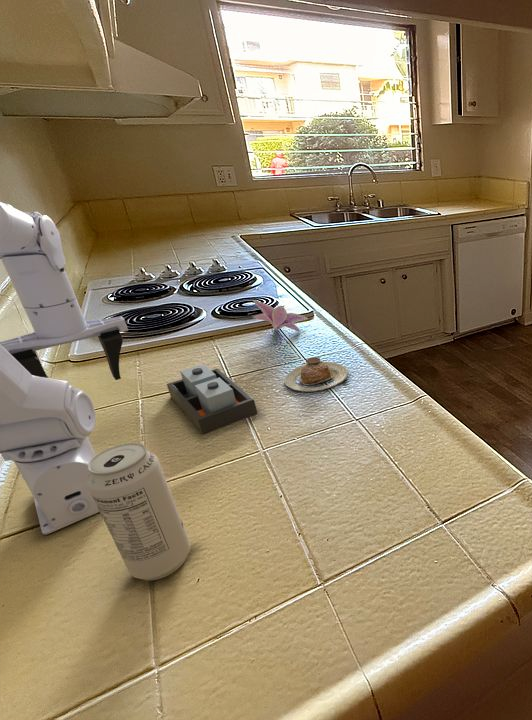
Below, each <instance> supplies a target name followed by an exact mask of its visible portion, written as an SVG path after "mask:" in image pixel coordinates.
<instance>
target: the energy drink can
mask: <svg viewBox="0 0 532 720" xmlns="http://www.w3.org/2000/svg"><path fill="white" fill-rule="evenodd" d="M88 470H89V474H88V478H87V483H86V484H87V486H88V489H89V491H90V493H91V495H92V497H93V499H94V501H95V503H96V505H97V507H98V509H99V511H100V512H99V513H100V515H101V517H102V519H103V521H104V524H105V526H106V527H107V530H108V531H109V534H110V536H111V538H112V540H113V542H114V544H115V546H116V549H117V550H118V553H119V554H120V556H121V559H122V560H123V562H124V565H125V566H126V568H127V571H128V573H129V574H130V576H131V577H133V578H135V579H140V580H143V581H148V582H149V581H156V580H160V579H163V578H165V577H168V576H170V575H171V574H173V573H175V572H176V571H177V570H178V569H180V568H181V567H182V566H183V564H184V563H185V562H186V560H187V557H188V555H189V554H190V552H191V551H190V550H191V541H190V538H189V536H188V533H187V531H186V528H185V526H184V525H185V524H184V523H183V519H182V518H181V515H180V512H179V509H178V507H177V504H176V502H175V499H174V497H173V494H172V491H171V489H170V486H169V484H168V481H167V478H166V476H165V473H164V471H163V468H162V465H161V463H160V460H159V458H158V457H157V455H155V454H154V453H152V452H151V451H149V450H147V447H146V446H145V445H144V444H142V443H140V442H139V443H138V442H127V443H122V444H118V445H115V446H111V447H109V448H107V449H105V450H103V451H101V452H99V453H97V454H96V456H95V457H94V458H93V459H91V461H90V462H89V464H88Z"/></svg>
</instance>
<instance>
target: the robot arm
mask: <svg viewBox="0 0 532 720" xmlns="http://www.w3.org/2000/svg"><path fill="white" fill-rule="evenodd" d="M63 251H64V250H63V247H62V239H61V235H60V231H59V230H58V227H57V226H56V224H55V222H54V221H53V220H52V218H51V217H49V216H48V215H45V214H42V213H40V212H39V211H22V210H20V209H18V208H15V207H14V206H12V205H11V204H9V203H6V202H5V203H4V202H3V201H0V260H1V262H2V264H3V266H4V268H5V270H6V273H7V275H8V277H9V280H10V281H11V283H12V286H13V288H14V291H15V292H16V295H17V296H18V298H19V299H18V300H19V301H20V303H21V305H22V307H23V309H24V312H25V314H26V316H27V318H28V320H29V323H30V324H31V327H32V329H33V332H31V333H26V334H24V335H20V336H17V337H13V338H10V339H6V340H3V341H0V456H1V457H2V459H3V461H4V462H8V461H13V462H14V465H15V466H16V468H17V470H18V471H19V473H20V475H21V477H22V479H23V480H24V483H25V484H26V486H27V488H28V489H29V491H30V493H31V495H32V496H33V497H32V498H33V502H34V506H35V510H36V514H37V518H38V522H39V527H40V530H41V534H42V535H49V534H51V533H54V532H57V531H58V530H61V529H63V528H65V527H68V526H70V525H72V524H74V523H76V522H79V521H81V520H84V519H86V518H88V517H90V516H93V515H96V514H98V513H100V511H99V509H98V507H97V505H96V503H95V501H94V499H93V497H92V495H91V493H90V491H89V489H88V486H87V484H86V483H87V478H88V474H89V470H88V464H89V462H90V461H91V459H93V458H94V457H95V456H96V455H97V454H96V452H95V450H94V448H93V447H94V446H93V445H92V444H91V441H90V438H89V436H90V435H91V434H92V432H93V431H94V429H95V428H96V427H95V426H96V422H97V415H96V410H95V406H94V403H93V401H92V399H91V398H90V396H89V395H88V394H87V393H86V392H84V391H83V390H82V389H80V388H75V387H73V386H72V385H71V384H70V383H69V382H68V381H67V380H62V379H56V378H50V377H49V376H48V375H47V373H46V371H45V369H44V367H43V365H42V363H41V360H40V358H39V356H38V353H37V351H41V350H45V349H49V348H53V347H58V346H62V345H67V344H70V343H74V342H78V341H84V340H89V339H91V338H98V339H99V342H100V346H101V347H102V350H103V353H104V354H105V357H106V361H107V364H108V368H109V370H110V373H111V375H112V377H113V378H114V381H118V380H121V379H122V377H121V372H120V356H121V355H120V354H121V350H122V346H123V343H124V338H123V335H122V334H121V333H125V332H128V331H129V328H128V325H127V322H126V320H125V318H124V317H123V316H122V315H119V316H115V317H114V316H113V317H108V318H101V319H93V320H92V319H91V320H86V317H84V313H83V311H82V309H81V306H80V304H79V302H78V299H77V296H76V293H75V292H74V291H75V290H74V288H73V286H72V283H71V281H70V278H69V276H68V274H67V271H66V269H65V266H66V264H67V262H66V260H67V259H66V257H65V254H64V252H63Z"/></svg>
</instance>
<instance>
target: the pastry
mask: <svg viewBox="0 0 532 720" xmlns="http://www.w3.org/2000/svg"><path fill="white" fill-rule="evenodd" d="M348 375H349V370H348V368H347V367H346V366H344V365H343V364H341V363H338V362H334V361H323V360H321V358H319V357H317V356H316V357H315V356H314V357H309V358H307V359H306V360H305V364H302V365H299V366H297V367H295V368H294V369H292V370H291V371H289V372H288V373H287V374H286V376H285V377H284V380H283V382H284V384H285V386H286V387H287V388H289V389H291V390H293V391H296V392H304V393H313V392H318V391H319V392H320V391H321V392H322V391H324V390H327V389H330V388H333V387H335V386H338V385H339V384H340V385H341V384H342V383H343V382H345V380H346V379H347V377H348ZM298 377H299V378H298ZM297 379H298V380H299V382H300V383H301V384H302V385H304V386H314V385H317V384H321V383H324V382H328V381H330V380H331V379H333V380H334V381H333V382H331V383H329V384H325V385H324V386H319V387H303V386H300V385H299V384H297V381H296V380H297Z"/></svg>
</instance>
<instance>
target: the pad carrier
mask: <svg viewBox="0 0 532 720" xmlns="http://www.w3.org/2000/svg"><path fill="white" fill-rule="evenodd" d="M210 370H211V371H212V372H213V373H214V374H215V375H216V377H217V378H221V379H222V380H223V381H224V382H225V383H226V384H227V385H228V386H229V387H231V388H232V389H233V393H234V396H235V400H236V404H234V405H231V406H228V407H226V408H223V409H220V410H218V411H215V412H212V413H209V414H207V415H206V414H205V413H204V411H203V410H202V408H201V404H200V401H199V398H198V395H194V396H191V397H189V396H188V394H187V391H186V388H185V385H184V382H183V378H181V379H178V380H175V381H172V382H169V383H166V386H167V389H168V393H169V395H170V398H171V399H172V400H173V402H174V403H175V404H176V405H177V407H179V409H180V410H181V411H182V412H183V413H184V415H185V416H186V417H187V419H189V421H190V422H191V423H192V424H193V425H194V426H195V428H196V429H197V430H198V431H199V432H200V433H201V435H202V436H204V435H207V434H209V433H211V432H214V431H216V430H220V429H221V428H224V427H227V426H229V425H232V424H234V423H237V422H239V421H242V420H244V419H247V418H250V417H252V416H255V415H257V414H258V409H257V405H256V402H255V399H254V398H253V397H252V396H251V395H249V394H248V393H247V392H246V391H245V390H244V389H243V388H241V386H239V385H238V384H237V383H236V382H235V381H233V380H232V379H231V378H230V376H228V375H226V374H225V372H223V371H222V370H221V369H220V368H218V367H217V368H214V369H210Z"/></svg>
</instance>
